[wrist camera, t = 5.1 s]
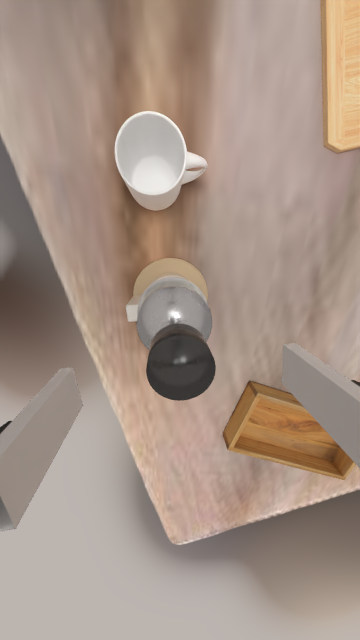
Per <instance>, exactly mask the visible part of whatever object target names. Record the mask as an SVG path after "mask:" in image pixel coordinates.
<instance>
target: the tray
mask: <svg viewBox="0 0 360 640" xmlns="http://www.w3.org/2000/svg"><path fill="white" fill-rule="evenodd" d="M223 436H224V440H225V443H226V446H227V449H228V450H230V451H233V452H237V453H241V454H245V455H249V456H252V457H256V458H260V459H264V460H268V461H272V462H276V463H280V464H283V465H287V466H291V467H295V468H299V469H303V470H307V471H310V472H314V473H318V474H322V475H326V476H330V477H334V478H338V479H342V480H345V479H346V477H347V476H348V475H349V473H350V472H351V471H352V469H353V468H354V467H355V465H356V464H355V462H354V461H353V460H352V459H351V458H350V457H349V456H348V455H347V454H346V453H345V451H344V450H343V449H342V448H341V447H340V446H339V445H338V444H337V443H336V442H335V441H334V439H333V438H332V437H331V436H330V435H329V434H328V433H327V432H326V431H325V430H324V428H323V427H322V426H321V425H320V424H319V423H318V422H317V421H316V420H315V419H314V417H313V416H312V415H311V414H310V413H309V412H308V411H307V410H306V409H305V408H304V407H303V405H302V404H301V403H300V402H299V401H298V400H297V399H296V398H295V397H294V396H293V394H290V393H287V392H284V391H281V390H278V389H275V388H271V387H268V386H265V385H262V384H259V383H256V382H253V381H249V382H248V384H247V386H246V388H245V390H244V392H243V394H242V396H241V398H240V400H239V402H238V404H237V406H236V407H235V409H234V411H233V413H232V415H231V417H230V419H229V421H228V423H227V425H226V427H225V429H224V431H223Z"/></svg>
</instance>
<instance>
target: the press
mask: <svg viewBox="0 0 360 640" xmlns="http://www.w3.org/2000/svg"><path fill="white" fill-rule="evenodd" d="M167 286H182V287H186V288H189V289H191V290H193V291H195V292H196V293H197V294H199V295H200V296H201V297H202V298H203V300H204V301H205V302H206V304H207V299H208V291H207V286H206V282H205V280H204V278H203V276H202V274H201V273H200V272H199V271H198V270H197V269H196V267H194V266H193V265H192V264H190V263H188V262H187V261H184V260H181V259H177V258H164V259H160V260H157V261H154V262H152V263H151V264H149V265H148V266H147V267H145V268H144V269H143V270H142V272H141V273H140V274H139V276H138V277H137V280H136V282H135V285H134V290H133V297H132V298H131V300H130V301H129V302H128V303H127V305H126V311H127V317H128V322H133V321H137V316H138V312H139V309H140V307H141V305H142V303H143V302H144V301H145V299H146V298H147V297H148V296H149V295H150V294H152V293H153V292H155V291H156V290H158V289H160V288H163V287H167ZM207 305H208V304H207Z"/></svg>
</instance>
